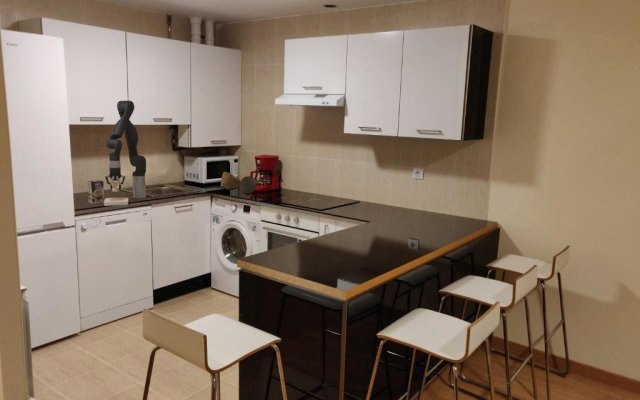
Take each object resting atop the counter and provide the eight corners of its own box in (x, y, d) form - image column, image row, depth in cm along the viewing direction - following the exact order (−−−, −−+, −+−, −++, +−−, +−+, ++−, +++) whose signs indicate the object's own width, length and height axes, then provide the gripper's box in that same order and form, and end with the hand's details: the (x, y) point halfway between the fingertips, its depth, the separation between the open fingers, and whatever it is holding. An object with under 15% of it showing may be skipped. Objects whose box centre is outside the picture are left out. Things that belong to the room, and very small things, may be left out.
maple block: (119, 190, 358) (118, 182, 357) (119, 191, 354) (118, 183, 353) (112, 190, 357) (112, 182, 356) (112, 191, 353) (112, 183, 352)
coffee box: (92, 204, 351) (91, 182, 348) (88, 202, 354) (87, 181, 351) (104, 202, 358) (103, 180, 355) (100, 201, 362) (99, 179, 359)
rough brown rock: (241, 191, 431) (242, 174, 429) (222, 189, 426) (223, 172, 424) (237, 187, 453) (239, 171, 451) (219, 186, 448) (221, 170, 446)
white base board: (128, 200, 367) (128, 197, 367) (128, 204, 353) (127, 201, 352) (105, 201, 362) (105, 197, 361) (104, 205, 347) (103, 201, 347)
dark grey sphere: (248, 195, 405) (249, 178, 402) (236, 193, 412) (236, 176, 410) (259, 193, 417) (259, 176, 414) (247, 191, 424) (247, 174, 421)
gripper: (125, 166, 358) (126, 188, 361) (104, 166, 353) (105, 189, 356) (125, 167, 351) (126, 190, 354) (103, 167, 346) (104, 190, 349)
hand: (115, 189), depth 355 cm, fingers closed on maple block, 4 cm apart
